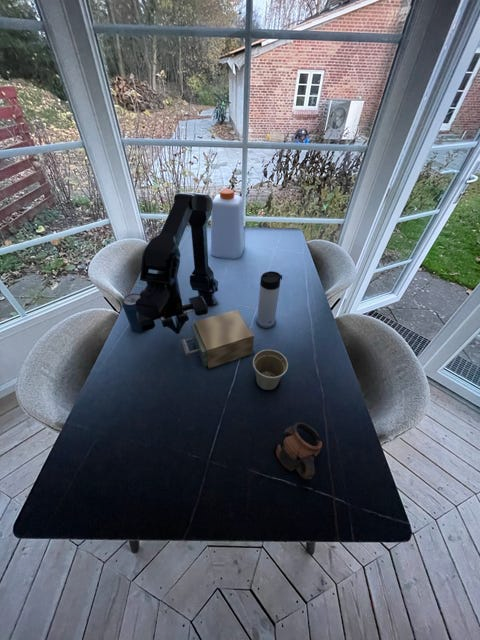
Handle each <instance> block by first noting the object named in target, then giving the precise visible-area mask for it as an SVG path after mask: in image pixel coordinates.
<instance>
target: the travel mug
mask: <svg viewBox="0 0 480 640" xmlns="http://www.w3.org/2000/svg"><path fill="white" fill-rule="evenodd" d="M282 280H283V274H281V273H279V272H277V271H273V270H272V271H265V272H263V273H262V274H261V275H260V282H259V289H258V290H259V291H258V304H257V314H256V324H257V325H258V326H259V327H261V328H264V329H270V328H271V327H273V326H274V325H275V320H276V314H277V308H278V301H279V296H280V288H281V281H282Z"/></svg>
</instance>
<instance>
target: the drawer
mask: <svg viewBox="0 0 480 640" xmlns="http://www.w3.org/2000/svg"><path fill="white" fill-rule="evenodd" d="M190 328H191V334H192V335H191V336H192V337H190V338H187V339H186V338H182V339H180V343H181V345H182V348H183V352H184V354H185V356H186V357H190V356H191V355H192V354H197V353H198V356H199V358H200V360H201V363H202V365H203V367H208V362H207V353H206V349H205V347H204V345H203V342H202V340H201V338H200V335H199V333H198V331H197V329H196V326H195V325H194V324H192V325H191V326H190ZM192 341H193V343H194V346H195V348H196V349H193V350H190V347H189V344H188V342H192Z"/></svg>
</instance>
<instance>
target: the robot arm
mask: <svg viewBox="0 0 480 640" xmlns="http://www.w3.org/2000/svg"><path fill="white" fill-rule="evenodd" d="M212 208H213V199H212V197H211V196H210V195H209V194H208V193H199V192H191V191H188V192H177V193H175V194H174V197H173V204H172V206H171V208H170V211H169V213H168V215H167V217H166V220H165V221H164V224H163V226H162V228H161V231H160V232H159V233H158V235H156V236H154V237H153V238H151V239H150V240H149V242H148V243H147V245H146V246H145V248H144V250H143V252H142V257H141V265H140V276H139V280H140V281H142V282H146V286H145V288H144V289H142V290H141V292H139V294H140V297H139V298H138V299H137V300H136V304H135V307H136V309H137V310H138V311H137V313H136V315H137V320H138V324H139V327H140V330H141V331H140V332H145V331H149V330H153V329H154V328H156V323H155V321H156V320H160V321H161V324H162V327H163V328H168V329H170V330H171V331H172V332H174V334H175V335H179V334H180V333H181V331H182V330H183V329H182V328H183V327H184V325H185V324H186V322H188V321H189V320H190V318H189V315H188V313H191V312H194V315H195V316H197V317H201V316H205V315H208V314H209V307H212V306H216V305H218V302H217V300H216V299H215V297H214V295H215V293H216V292H219V281H218V280H217V279H215V275H214V271H213V270H212V267H210V266H209V249H208V229H207V228H208V227H207V223H208V222H209V220H210V219H211V211H212ZM188 224H189V226H190V232H191V233H190V234H191V245H192V255H193V266H194V267H193V270H192V272H191V273H190V275H189V285H190V287H191V290H192V291H195V292H197V295H196V296H193V297H192V296H191V297H189V298H188V301H189V303H187V304H184V302H183V301H182V300H183V299H182V295H181V290H180V284H179V279H178V275H179V274H178V273H179V269H180V264H181V251H180V248H179V246H180V243H181V241H182V238H183V236H184V233H185V231H186V229H187V226H188ZM150 271H155V272H154V273H153V272H150ZM156 271H157V272H156ZM173 317H174V318H175V322H174V319H173Z"/></svg>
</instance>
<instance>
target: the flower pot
mask: <svg viewBox="0 0 480 640" xmlns="http://www.w3.org/2000/svg"><path fill="white" fill-rule="evenodd" d="M252 366H253V369H254V370H255V377H256V379H255V380H256V384H257V385H258V387H259V388H261V389H262V390H264V391H265V390H267V391H269V390H270V391H272V390H274V389H275V388H277V386H278V385H279V383H280V380H281V379H282V377H283V376H284V375H286V373H287V371H288V369H289V368H288V367H289V362H288V360H287V357H286V356H285V355H284V354H283V353H281V352H280V351H278V350H274V349H262V350H260V351H258V352H257V353H256V354H255V355H254V356H253V359H252Z"/></svg>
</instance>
